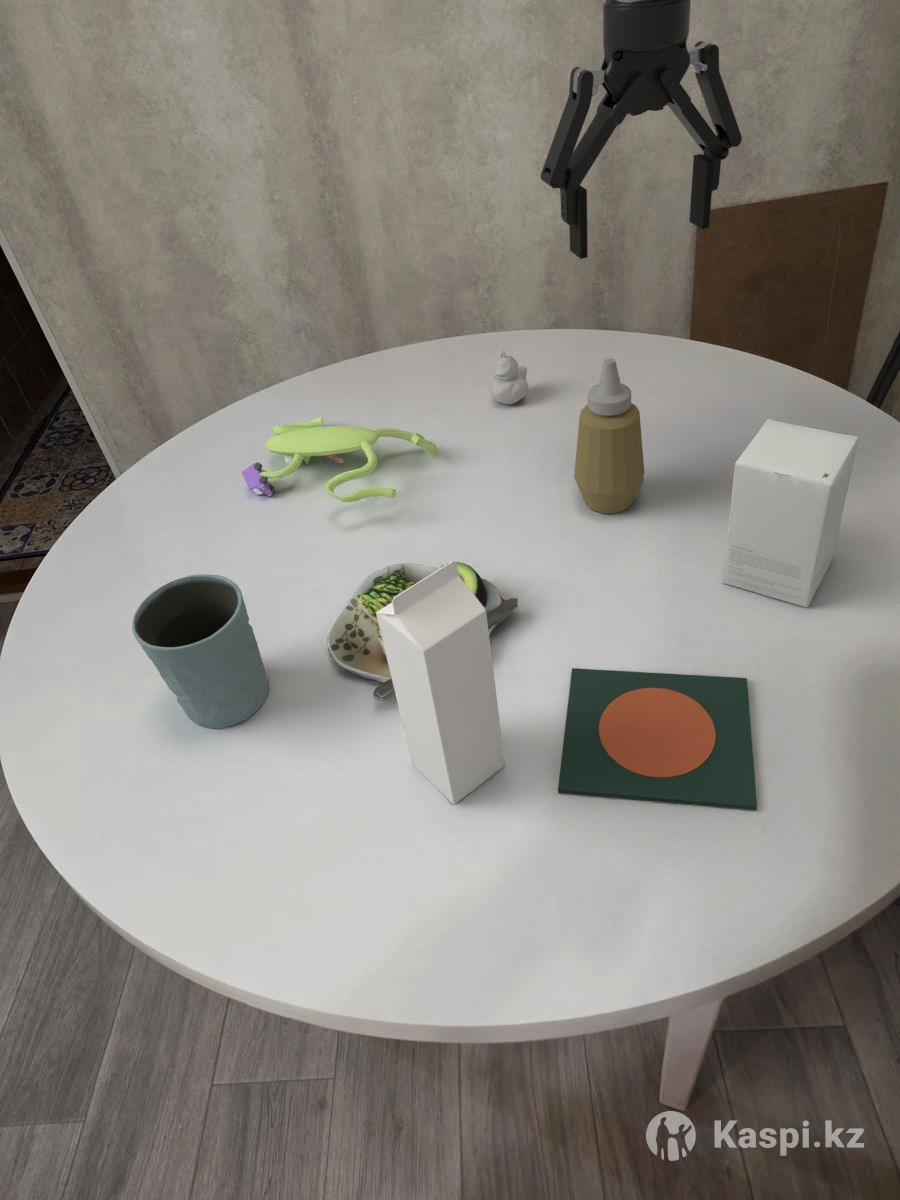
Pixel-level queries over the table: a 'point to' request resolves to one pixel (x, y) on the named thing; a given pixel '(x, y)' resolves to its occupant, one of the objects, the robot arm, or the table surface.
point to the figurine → (327, 454)
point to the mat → (659, 738)
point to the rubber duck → (508, 380)
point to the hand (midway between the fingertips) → (639, 239)
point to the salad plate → (357, 626)
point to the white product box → (787, 510)
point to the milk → (444, 681)
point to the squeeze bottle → (609, 445)
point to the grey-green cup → (204, 648)
